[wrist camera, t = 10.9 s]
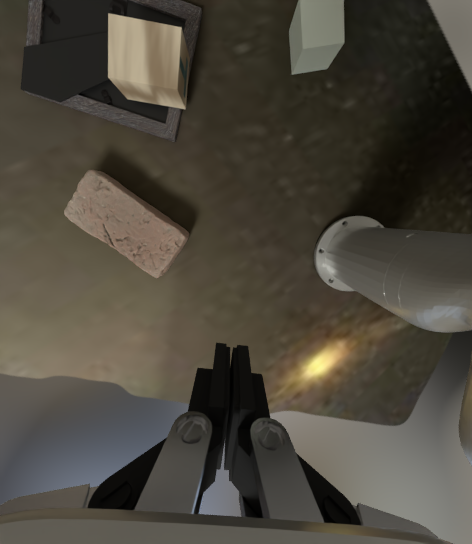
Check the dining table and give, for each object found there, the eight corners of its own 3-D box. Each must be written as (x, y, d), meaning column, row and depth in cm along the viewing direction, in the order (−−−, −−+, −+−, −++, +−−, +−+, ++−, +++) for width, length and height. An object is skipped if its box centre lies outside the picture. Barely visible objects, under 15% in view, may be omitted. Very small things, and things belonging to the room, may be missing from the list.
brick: (78, 215, 36) (55, 215, 31) (103, 169, 34) (83, 162, 30) (166, 273, 38) (158, 281, 34) (193, 233, 37) (188, 236, 32)
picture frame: (33, 96, 32) (176, 143, 34) (20, 89, 30) (173, 139, 32) (42, -44, 28) (203, 18, 30) (29, -63, 26) (201, 4, 28)
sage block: (325, 25, 30) (343, -11, 25) (326, 69, 31) (344, 42, 26) (288, 31, 30) (299, -4, 25) (291, 74, 31) (302, 49, 27)
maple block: (181, 27, 25) (108, 13, 24) (177, 89, 26) (108, 77, 26) (189, 58, 30) (128, 46, 29) (185, 109, 31) (127, 99, 31)
